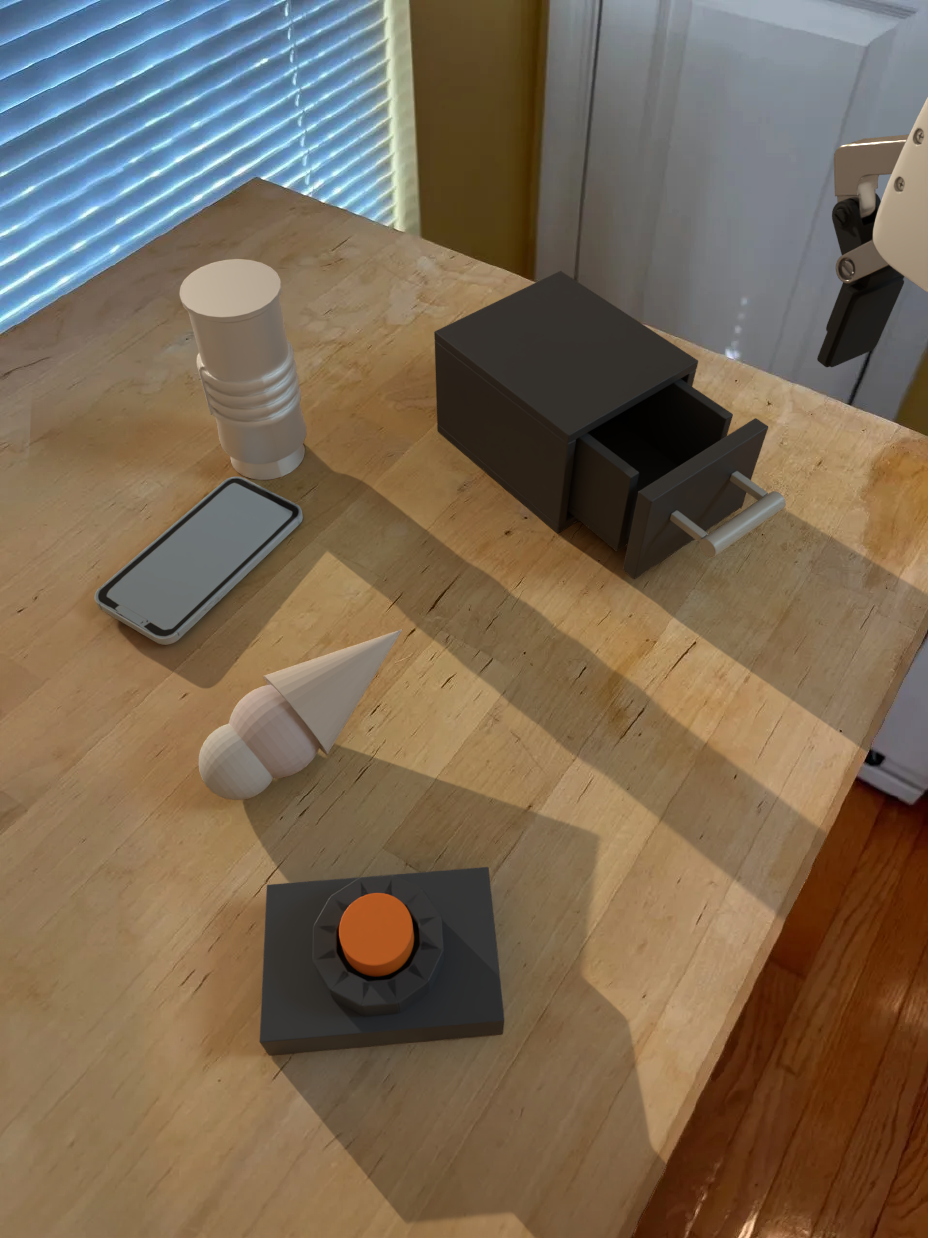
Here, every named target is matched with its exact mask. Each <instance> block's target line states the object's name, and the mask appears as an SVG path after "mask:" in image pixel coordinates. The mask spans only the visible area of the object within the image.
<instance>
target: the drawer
mask: <svg viewBox="0 0 928 1238" xmlns="http://www.w3.org/2000/svg"><path fill="white" fill-rule="evenodd" d="M733 415H734V414H733V413H732V412H731V411H729V410H728V409H727V408H725V407H723V406H722V405H720V404H718V403H717V402H716V401H715V400H713V399H711V398H710V397H708V396H707V395H705V394H704V393H703V392H701V391H699V390H698V389H696V388H695V387H694V386H690V385H689V384H687V383H686V382H684V381H683V380H682V379H679V380H677V381H676V382H674V383H672V384H670V385H669V386H667V387H665V388H664V389H662V390H660V391H658V392H657V393H655V394H653V395H651V396H650V397H648V398H646V399H645V400H643V401H641V402H639V403H638V404H636V405H634V406H632V407H631V408H629V409H627V410H626V411H624V412H622V413H620V414H619V415H617V416H615V417H613V418H612V419H610V420H608V421H607V422H605V423H603V424H601V425H600V426H598V427H596V428H594V429H593V430H591V431H589V432H588V433H586V434H584V435H582V436H581V437H579V438H577V439H576V444H575V452H574V460H573V468H572V476H571V485H570V493H569V501H568V509H567V511H568V512H570V513H571V514H572V515H573V516H574V517H576V518H577V519H578V520H579V522H580V523H582V524H583V525H584V526H585V527H586V528H587V529H589V530H590V531H591V532H593V533H594V534H595V535H596V536H597V537H598V538H599V539H601V540H602V541H603V542H604V543H606V544H607V545H608V546H609V547H610V548H611V549H613V550H614V551H615V552H619V551H620V550H622V549H623V548H625V547H626V551H625V557H624V561H623V567H622V571H623V572H624V573H625V574H627V575H628V577H630V578H631V579H633V580H636V579H638V578H639V577H640V576H643V575H644V574H645V573H647V572H648V571H650V570H651V569H652V568H654V567H655V566H657V565H659V564H660V563H661V562H662V561H665V559H667V558H669V557H670V556H671V555H673V554H675V553H676V552H678V551H679V550H681V549H682V548H683V547H685V546H686V545H688V544H689V543H691V542H692V541H694V540H695V541H696V542H698V546H699V549H700V551H701V553H702V554H703V556H705V557H707V558H711V559H712V558H714V557H717V555H719V554H720V553H722V552H723V551H725V550H727V548H729V547H731V546H732V545H734V543H736V542H737V541H739V540H740V539H742V538H743V537H745V536H747V535H748V534H749V533H750V532H751V531H753V530H755V529H756V528H758V527H759V526H760V525H762V524H764V523H765V522H766V521H767V520H769V519H771V518H772V517H773V516H775V515H776V514H777V513H779V512H780V511H782V510H783V509H785V507H786V500H785V497H784V495H783V494H782V493H780V492H779V491H776V490H772V491H770V492H767V490H765V489H764V488H762V487H761V486H759V485H758V484H757V483H755V482H753V481H752V478H753V475H754V472H755V469H756V466H757V463H758V460H759V457H760V454H761V450H762V448H763V446H764V445H763V444H764V441H765V439H766V436H767V433H768V430H769V426H768V425H767V424H766V423H764V422H762V421H761V420H760V419H758V418H757V417H756V418H753V419H751V420H750V421H748V422H746V423H745V424H743V425H742V426H740V427H739V428H737V429H736V430H733V431H732V432H731V433H729V430H730V426H731V423H732V420H733ZM728 433H729V434H728ZM747 494H748V495H750V496H751V497H752V498H754V499H755V500H756V502H754V503H752V504H751V505H750V506H748V507H747V508H745V509H744V510H742V511H741V512H739V513H737V514H736V515H735V516H733V517H732V518H731V519H729V520H728V521H726V522H724V523H723V524H722V525H720V526H718V527H717V528H716V529H714V530H713V531H711V532H710V533H707V531H708V530H710V529H712V528H713V527H715V526H716V525H717V524H719V523H720V522H722V521H724V519H726V518H728V517H729V516H731V515H732V514H734V513H735V512H736V511H738V510H740V509H741V508H742V507H743V505H744V503H745V499H746V496H747Z"/></svg>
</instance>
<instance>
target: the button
mask: <svg viewBox="0 0 928 1238" xmlns="http://www.w3.org/2000/svg"><path fill="white" fill-rule="evenodd" d="M339 938H340V942H341V945H342V948H343V951H344V954H345V957H346V959H347V961H348V962H349V964H350V965H351V966H352V967H353V968H354V969H355V970H357V971H358V972H360V973H362V974H364V975H368V976H374V977H378V976H385V975H388V974H391V973H393V972H395V971H396V970H398V969H399V968H401V967H402V966H403V965H404V964H405V962H406V961H407V960H408V958H409V956H410V954H411V952H412V949H413V945H414V932H413V924H412V919H411V915H410V913H409V911H408V909H407V908H406V906H405V905H404V904H403V903H402V902H401V901H400V900H398V899H397V898H395V897H393V896H391V895H388V894H384V893H372V894H368V895H364V896H362V897H360V898H358V899H357V900H355V901H354V902H353V903H352V904H351V905H349V907H348V908H347V909H346V911H345V912H344V914H343V916H342V918H341V921H340V926H339Z"/></svg>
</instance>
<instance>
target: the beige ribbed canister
mask: <svg viewBox="0 0 928 1238" xmlns="http://www.w3.org/2000/svg"><path fill="white" fill-rule="evenodd" d="M281 294H282V280H281V278H280V276H279V274H278V272H277V271H276V270H275V269H274V268H272V267H271V266H269V265H267V264H265V263H263V262H261V261H256V260H253V259H243V258H234V259H233V258H232V259H223V260H218V261H213V262H211V263H208V264H205V265H202V266H201V267H199V268H197V269H195V270H194V271H192V272H191V273H190V274H189V275H187V276H186V277H185V278H184V280H183V281H182V283H181V285H180V286H179V294H178V295H179V298H180V302H181V304H182V307H183V308H184V309H185V310H186V311H187V312H188V316H189V320H190V323H191V324H190V325H191V328H192V330H193V331H192V332H193V335H194V338H195V342H196V346H197V349H198V353H197V355H196V367H197V371H198V375H199V378H200V381H201V386H202V389H203V392H204V396H205V400H206V404H207V408H208V411H209V413H210V415H212V416H213V417H214V418H215V421H216V428H217V433H218V439H219V443H220V446H221V449H222V450H223V451H224V453H226V455H227V456H229V457H230V463H231V466H232V468H233V469H234V470H235V471H236V472H237V473H238V474H240V475H241V476H242V477H244V478H249V479H251V480H257V481H267V480H274V479H278V478H282V477H284V476H287V475H288V474H291V473H292V472H294V471H295V470H296V469H297V468H298V467H299V466H300V465H301V463H302V462H303V460H304V457H305V455H306V453H305V452H306V451H305V450H306V449H305V445H304V442H305V439H306V437H307V425H306V421H305V417H304V413H303V411H302V406H301V400H302V391H301V387H300V384H299V383H300V380H299V379H300V378H299V374H298V372H297V370H298V368H297V367H298V366H297V362H296V359H295V350H294V347H293V345H292V343H291V341H290V340H288V337H287V331H286V326H285V320H284V315H283V314H284V313H283V309H282V303H281V302H282V301H281Z"/></svg>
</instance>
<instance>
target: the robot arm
mask: <svg viewBox="0 0 928 1238" xmlns="http://www.w3.org/2000/svg"><path fill="white" fill-rule="evenodd" d="M882 175H883V176H885V175H890V176H889V179H888V181H887V184H886V187H885V189H884V192H883V195H882V198H880V196H879V195H878V194H877V192H876V190H878V188H879V177H880V176H882ZM833 178H834V179H833V182H834V183H833V185H834V197H836V202H837V203H835V204H834V206H833V208H832V211H831V220H832V224H833V227H834V232H835V235H836V239H837V242H838V246H839V250H840V254H841V256H839V257H838V258H837V260H836V263H835V273H836V276H837V278H838V279H839V281H840V282H842V284H841V287H840V290H839V292H838V294H837V297H836V300H835V302H834V305H833V308H832V311H831V312H830V315H829V318H828V321H827V323H826V326H825V331H826V334H825V337H824V339H823V342H822V344H821V347H820V350H819V352H818V355H817V359H816V360H817V362H818V363H819V364H821V365H822V366H824V367H825V368H835V367H836V366H839V365H842V364H844V363H846V362H849V361H851V360H853V359H855V358H858V357H860V356H862V355H865V354H867V353H869V352H871V351H873V350H874V349H876V347H877V345H878V344H879V340H880V339H881V336H882V335H883V332H884V329H885V327H886V325H887V323H888V321H889V319H890V316H891V314H892V312H893V309H894V308H895V305H896V303H897V301H898V298H899V296H900V293H901V291H902V289H903V286H904V284H905V280H904V278H906V279H907V280H908V281H910V282H911V283H913V284H914V285H915V286H918V287H919V288H920V289H922V290H923V291H925V292H926V293H928V96H927V97H926V99H925V101H924V104H923V106H922V107H921V110H920V111H919V114H918V115H917V117H916V120H915V121H914V124H913V126H912V128H911V130H910V132H909V134H897V135H887V136H877V137H866V138H860V139H858V140H855V141H852V142H849V143H846V144H842V145H841V146H839V147H837V148H836V149H835V152H834V154H833Z"/></svg>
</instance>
